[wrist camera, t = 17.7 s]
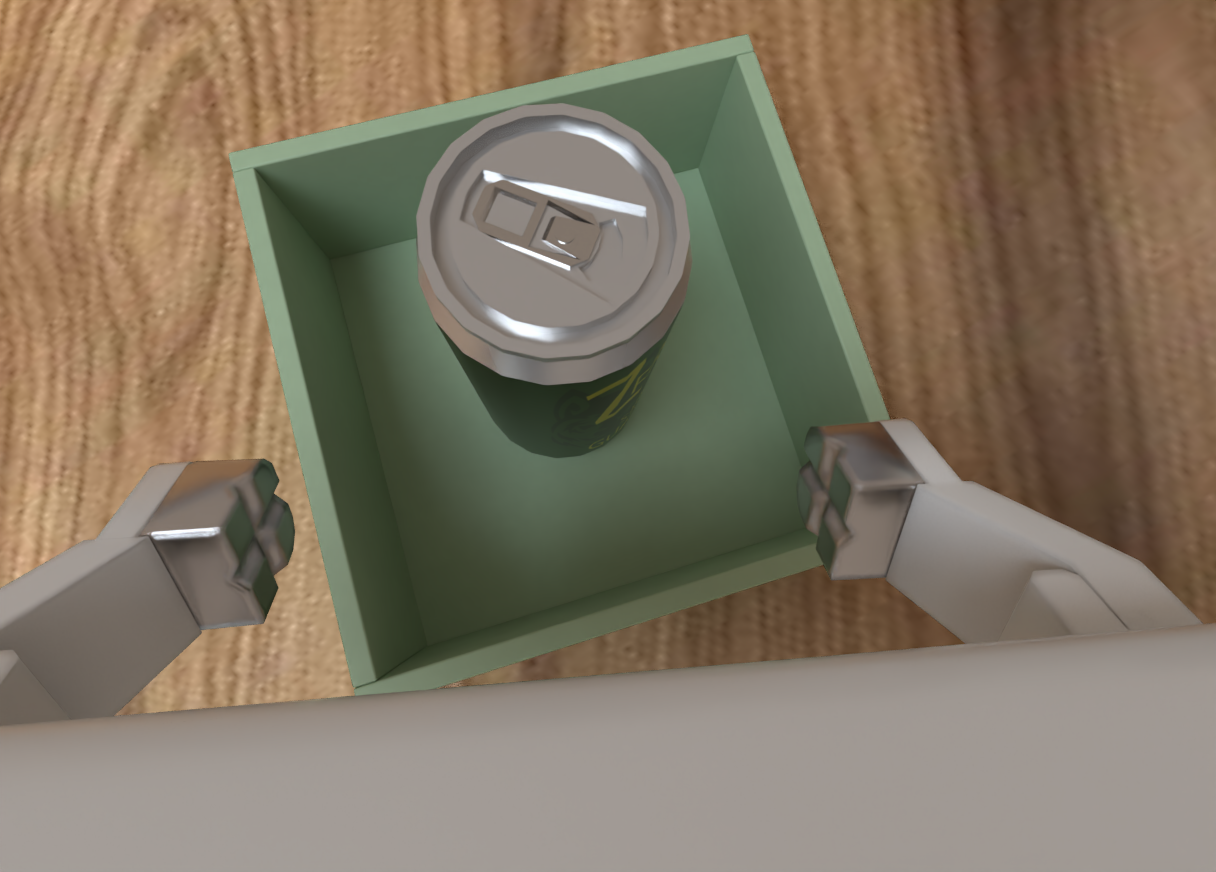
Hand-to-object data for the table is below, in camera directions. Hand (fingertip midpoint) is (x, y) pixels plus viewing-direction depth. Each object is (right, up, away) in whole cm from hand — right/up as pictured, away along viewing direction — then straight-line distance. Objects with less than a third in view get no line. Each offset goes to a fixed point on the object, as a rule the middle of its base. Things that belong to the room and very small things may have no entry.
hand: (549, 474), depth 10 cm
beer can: (-1, +2, +14) cm, 14 cm away
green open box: (0, +2, +14) cm, 14 cm away
